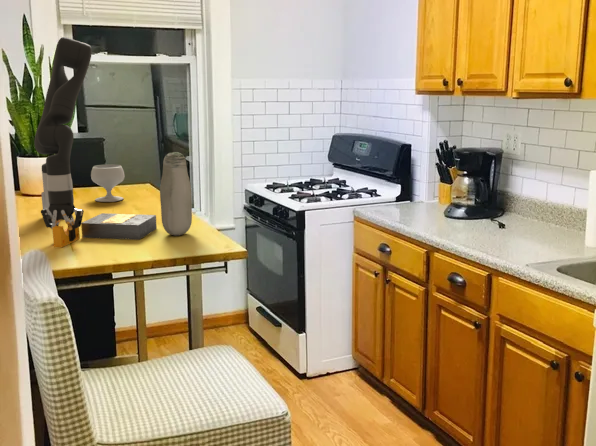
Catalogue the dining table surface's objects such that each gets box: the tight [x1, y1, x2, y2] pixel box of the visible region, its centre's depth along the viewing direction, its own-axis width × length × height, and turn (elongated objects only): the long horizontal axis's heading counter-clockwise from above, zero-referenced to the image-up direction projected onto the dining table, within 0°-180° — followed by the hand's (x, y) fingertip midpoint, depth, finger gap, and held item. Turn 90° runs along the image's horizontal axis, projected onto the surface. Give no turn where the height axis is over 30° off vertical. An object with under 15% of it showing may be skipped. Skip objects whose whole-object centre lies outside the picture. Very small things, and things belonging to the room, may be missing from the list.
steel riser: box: [80, 212, 158, 241], centre depth 220 cm, size 20×16×5 cm
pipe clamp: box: [51, 218, 81, 249], centre depth 207 cm, size 12×4×6 cm, turn 172°
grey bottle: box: [159, 151, 193, 236], centre depth 216 cm, size 10×10×28 cm
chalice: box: [90, 163, 126, 203], centre depth 279 cm, size 14×14×15 cm
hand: (64, 240), depth 208 cm, fingers closed on pipe clamp, 4 cm apart
